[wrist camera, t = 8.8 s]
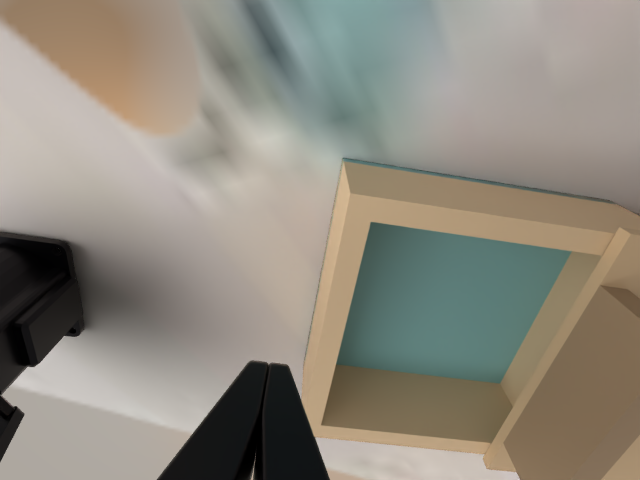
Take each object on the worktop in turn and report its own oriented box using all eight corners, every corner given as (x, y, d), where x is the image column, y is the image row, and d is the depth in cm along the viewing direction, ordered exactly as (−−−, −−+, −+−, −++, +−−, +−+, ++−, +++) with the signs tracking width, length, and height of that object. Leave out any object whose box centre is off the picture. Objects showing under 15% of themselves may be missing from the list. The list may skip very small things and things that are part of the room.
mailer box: (303, 364, 24) (299, 435, 20) (342, 158, 18) (350, 193, 13) (504, 388, 25) (544, 460, 21) (609, 200, 19) (697, 246, 14)
